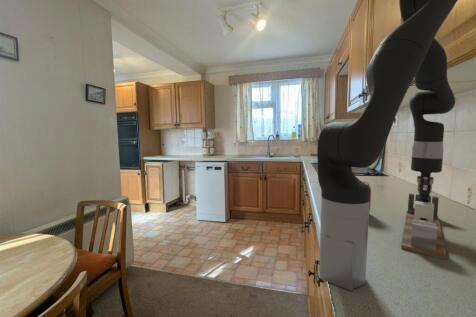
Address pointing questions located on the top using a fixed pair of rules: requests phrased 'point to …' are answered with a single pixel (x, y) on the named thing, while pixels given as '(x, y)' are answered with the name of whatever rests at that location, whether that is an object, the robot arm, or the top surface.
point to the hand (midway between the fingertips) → (422, 209)
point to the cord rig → (423, 232)
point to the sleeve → (424, 211)
